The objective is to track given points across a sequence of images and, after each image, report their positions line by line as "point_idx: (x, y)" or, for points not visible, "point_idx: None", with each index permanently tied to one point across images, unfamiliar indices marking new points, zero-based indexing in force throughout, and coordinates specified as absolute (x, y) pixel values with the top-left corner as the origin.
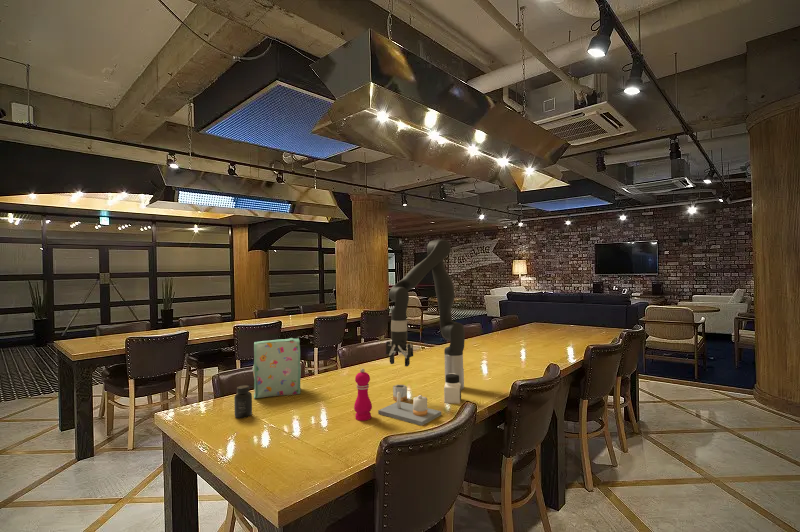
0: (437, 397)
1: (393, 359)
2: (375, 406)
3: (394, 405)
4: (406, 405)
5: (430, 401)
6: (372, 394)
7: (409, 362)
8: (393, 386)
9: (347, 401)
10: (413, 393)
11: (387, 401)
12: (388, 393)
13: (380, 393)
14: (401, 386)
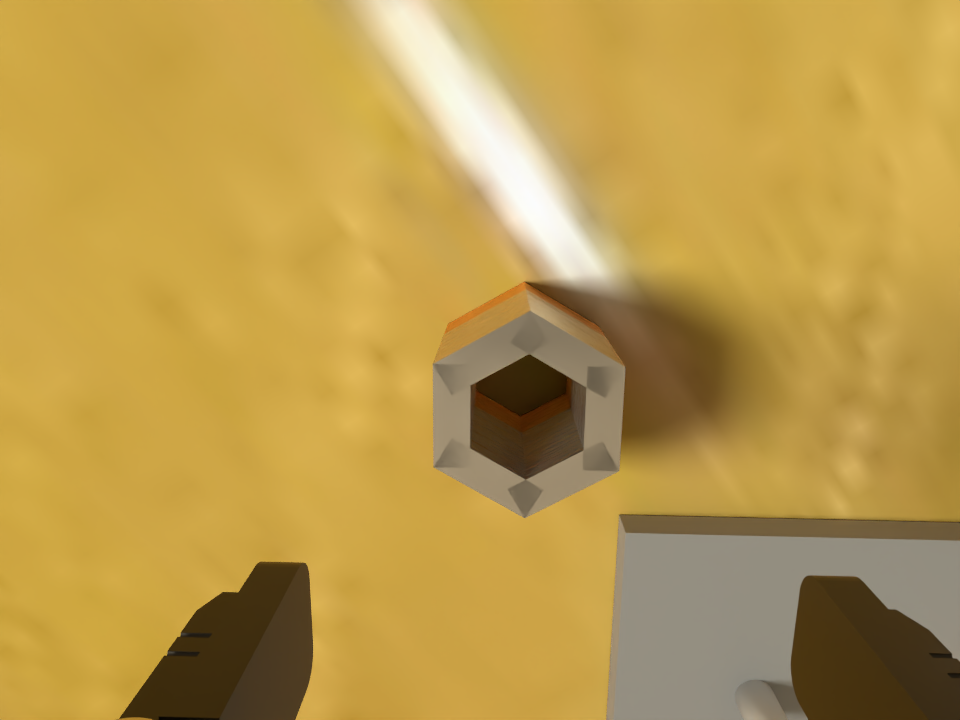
0: (911, 16)
1: (270, 665)
2: (442, 676)
3: (664, 660)
4: (782, 597)
5: (894, 219)
6: (121, 401)
7: (955, 665)
8: (449, 474)
9: (101, 711)
10: (524, 60)
11: (443, 499)
12: (248, 259)
13: (167, 316)
14: (513, 355)
